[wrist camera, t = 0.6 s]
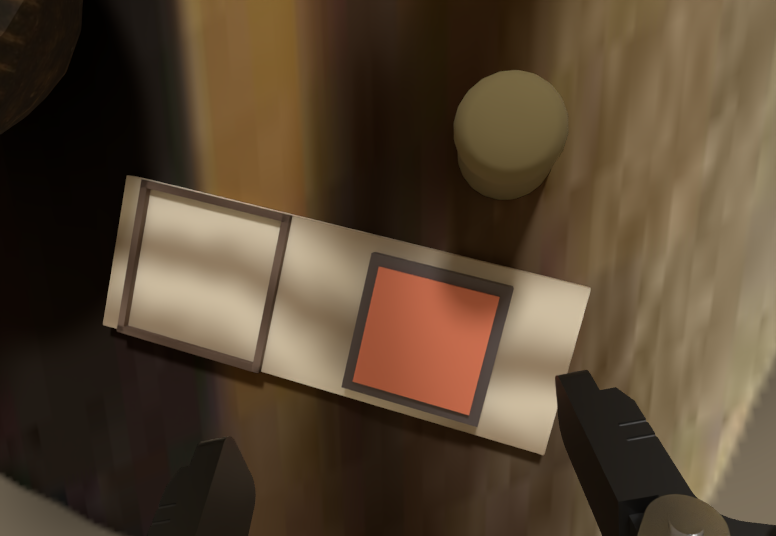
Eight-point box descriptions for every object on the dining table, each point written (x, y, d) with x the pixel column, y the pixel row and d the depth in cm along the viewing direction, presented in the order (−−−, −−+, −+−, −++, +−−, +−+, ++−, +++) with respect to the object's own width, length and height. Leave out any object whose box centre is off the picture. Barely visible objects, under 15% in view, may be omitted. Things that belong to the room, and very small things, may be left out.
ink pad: (375, 251, 36) (370, 253, 34) (513, 285, 34) (514, 289, 33) (346, 381, 37) (340, 388, 35) (478, 420, 35) (477, 429, 34)
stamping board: (135, 176, 39) (122, 174, 38) (588, 286, 34) (592, 289, 33) (112, 322, 41) (97, 326, 39) (542, 448, 36) (544, 458, 34)
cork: (563, 189, 34) (595, 176, 23) (466, 208, 35) (454, 205, 25) (545, 92, 34) (570, 34, 23) (449, 115, 35) (429, 70, 24)
